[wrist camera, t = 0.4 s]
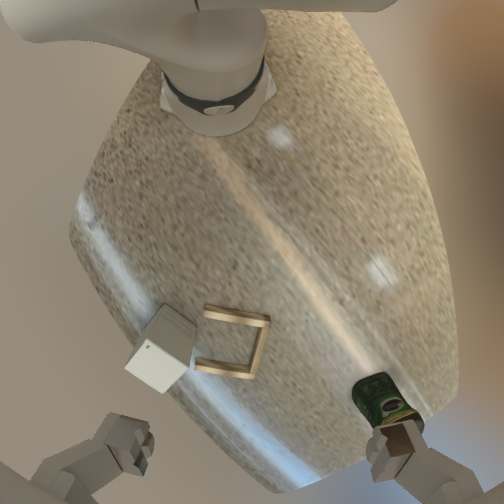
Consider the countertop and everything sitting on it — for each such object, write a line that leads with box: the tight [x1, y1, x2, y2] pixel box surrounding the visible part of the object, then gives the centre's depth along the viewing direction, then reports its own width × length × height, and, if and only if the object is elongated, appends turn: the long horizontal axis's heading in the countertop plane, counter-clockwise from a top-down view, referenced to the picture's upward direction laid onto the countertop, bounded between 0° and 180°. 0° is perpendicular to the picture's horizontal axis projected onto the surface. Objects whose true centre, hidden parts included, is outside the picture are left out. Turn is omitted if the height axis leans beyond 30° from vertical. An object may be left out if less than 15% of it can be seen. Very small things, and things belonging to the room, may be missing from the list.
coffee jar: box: [353, 373, 424, 435], centre depth 46 cm, size 10×8×19 cm
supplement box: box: [124, 304, 197, 394], centre depth 42 cm, size 7×7×13 cm
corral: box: [194, 304, 271, 380], centre depth 48 cm, size 11×12×2 cm
